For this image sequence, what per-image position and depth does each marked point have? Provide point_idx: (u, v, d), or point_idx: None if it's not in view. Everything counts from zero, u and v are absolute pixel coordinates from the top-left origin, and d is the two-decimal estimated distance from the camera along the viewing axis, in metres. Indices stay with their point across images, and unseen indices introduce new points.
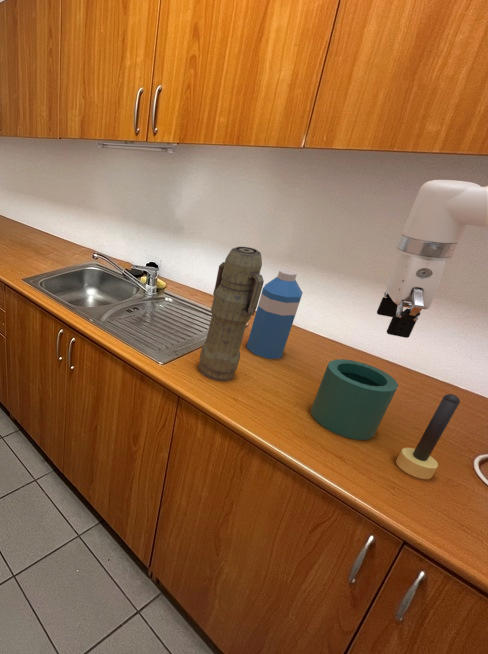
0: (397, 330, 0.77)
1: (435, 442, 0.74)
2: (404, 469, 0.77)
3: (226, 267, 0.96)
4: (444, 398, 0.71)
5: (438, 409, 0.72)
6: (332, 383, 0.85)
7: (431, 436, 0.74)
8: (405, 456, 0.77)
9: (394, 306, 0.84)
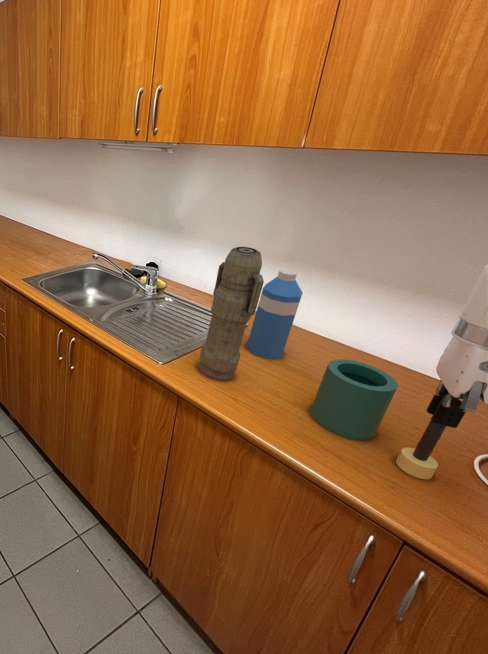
0: (444, 420, 0.71)
1: (435, 442, 0.74)
2: (404, 469, 0.77)
3: (226, 267, 0.96)
4: (444, 398, 0.71)
5: None
6: (332, 383, 0.85)
7: (431, 436, 0.74)
8: (405, 456, 0.77)
9: None
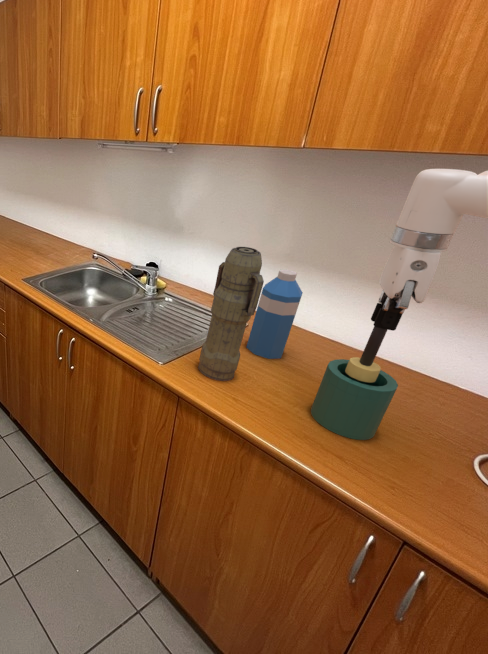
0: (384, 323, 0.78)
1: (378, 347, 0.81)
2: (351, 375, 0.84)
3: (226, 267, 0.96)
4: None
5: None
6: (332, 383, 0.85)
7: (374, 341, 0.81)
8: (352, 363, 0.84)
9: None
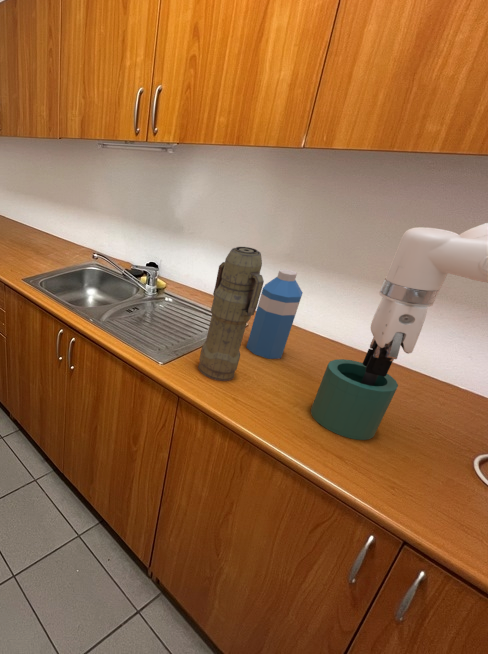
0: (375, 369, 0.81)
1: None
2: None
3: (226, 267, 0.96)
4: None
5: None
6: (332, 383, 0.85)
7: None
8: None
9: None
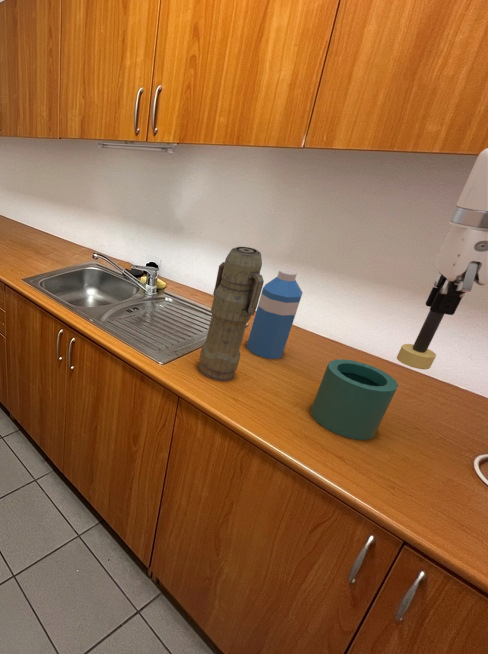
0: (442, 307, 0.76)
1: (433, 332, 0.79)
2: (404, 362, 0.82)
3: (226, 267, 0.96)
4: (441, 287, 0.76)
5: None
6: (332, 383, 0.85)
7: (429, 326, 0.79)
8: (405, 349, 0.82)
9: None
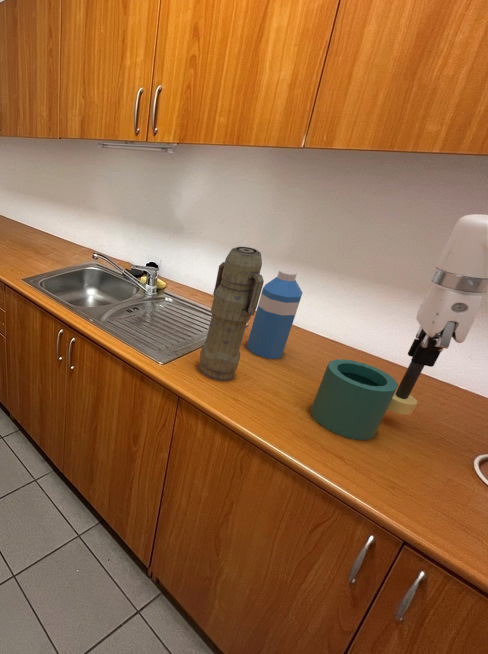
0: (422, 359, 0.80)
1: (414, 381, 0.83)
2: None
3: (226, 267, 0.96)
4: (422, 340, 0.81)
5: None
6: (332, 383, 0.85)
7: (411, 375, 0.83)
8: None
9: None
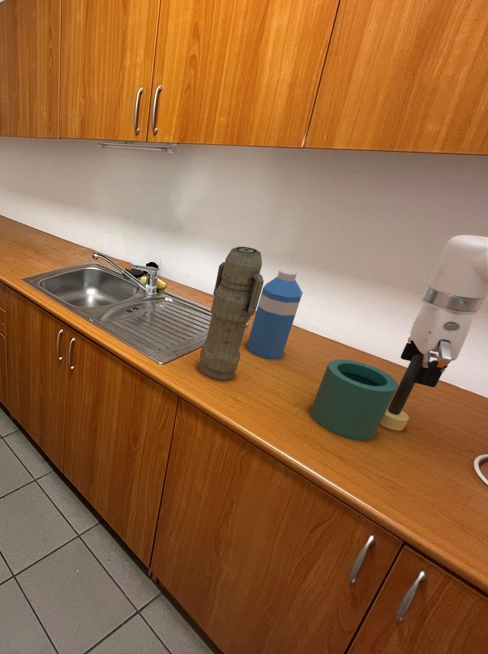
0: (424, 380, 0.79)
1: (406, 397, 0.85)
2: (380, 423, 0.88)
3: (226, 267, 0.96)
4: (413, 358, 0.83)
5: (408, 368, 0.84)
6: (332, 383, 0.85)
7: (402, 392, 0.85)
8: None
9: (418, 352, 0.85)
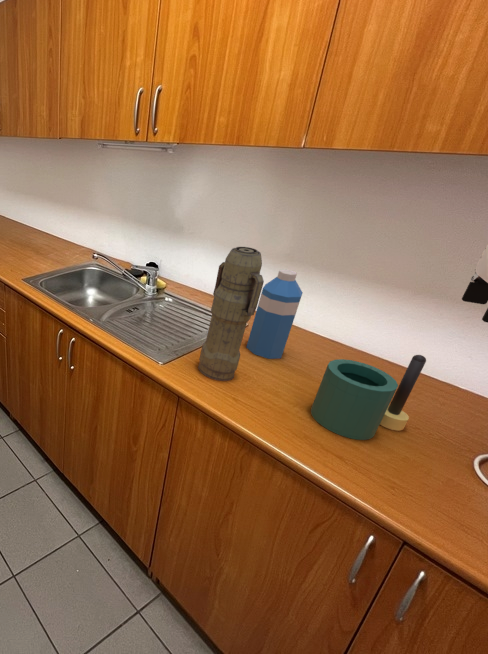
0: None
1: (406, 397, 0.85)
2: (380, 423, 0.88)
3: (226, 267, 0.96)
4: (413, 358, 0.83)
5: (408, 368, 0.84)
6: (332, 383, 0.85)
7: (402, 392, 0.85)
8: None
9: (484, 291, 0.76)
